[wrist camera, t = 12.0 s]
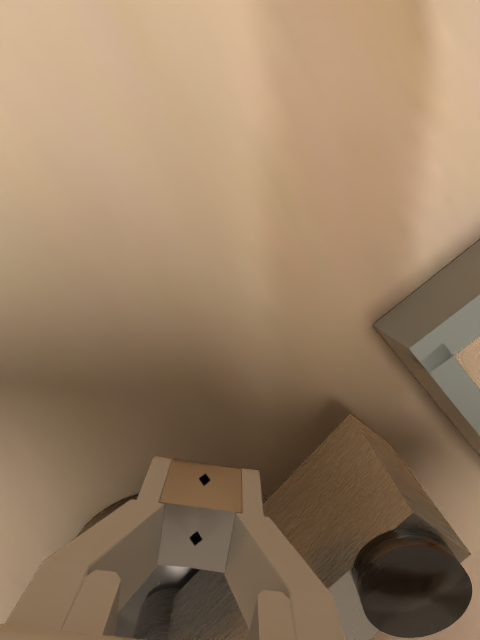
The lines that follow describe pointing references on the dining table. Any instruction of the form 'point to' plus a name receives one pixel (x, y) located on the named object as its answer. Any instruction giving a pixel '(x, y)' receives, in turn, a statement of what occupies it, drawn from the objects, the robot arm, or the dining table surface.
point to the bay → (442, 338)
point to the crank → (342, 550)
